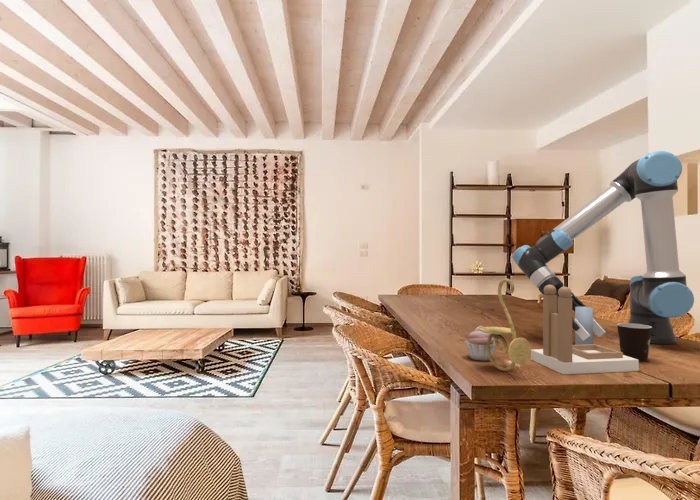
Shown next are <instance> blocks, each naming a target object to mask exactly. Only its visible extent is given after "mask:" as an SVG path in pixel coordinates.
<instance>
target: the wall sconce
mask: <svg viewBox="0 0 700 500" xmlns="http://www.w3.org/2000/svg"><path fill="white" fill-rule="evenodd" d="M504 283H508V284H509V285H510V288H508V287H507V288H506V292H507V293H508V294H510V295H512V294H513V293H514V292H515V284H514V282H513V280H511V279H510V278H503V279H502V280H500V281H499V283H498V286H497V296H498V300H499V302H500V305H501V307H502V309H503V311H504V314H505V316H506V319H507V321H508V324H509V327H503V326H483V327H482V328H479V330H480V331H482V332H484V333H488V334H490V336H489V337H488V340H487V354H488V357H489V359H490V360H489V361H490V363H491V364H492V365H493V366H494V367H495V368H496V369H498V370H500V371H501V372H502V371H503V372H508V371H511V370H512V369H513V368H514V367H515V365H516V364H517V365H522V364H524V363H526V362H528V360H529V359H530V358H531V350H532V347H531V344H530V341H528V340H527V339H526V338H525V337H517V332H516V330H515V325H514V323H513V320H512V317H511V315H510V313H509V310H508V307H507V305H506V303H505V301H504V298H503V295H502V294H503V293H502V288H503V285H504ZM505 335H511V336H512V337H511V338H512V341H511V342H510V343H509V345H508V342H507V340H506V338H504V336H505ZM492 337H493V338H494V340H495V341H494V343H496V344H495V346H496V347H498V348H499V345H500V342H499V340H501V342H502V344H503V349H501V348H500V349H498V350H497V351H498V352H499V353H500V354H503V355H504V354H506V353H507V352H508V357H509V359H510V360H511V363H510V364H509V365H508V366H506V367H503V366H500V365H499V364H498V363H497V362H496V361H495V360H494V358H493V356H492V355H491V351H490V343H491V339H492Z"/></svg>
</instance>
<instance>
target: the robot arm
mask: <svg viewBox="0 0 700 500" xmlns="http://www.w3.org/2000/svg"><path fill="white" fill-rule="evenodd" d="M682 172H683V165H682V162H681V160H680V158H678V156H677V155H676V154H673V153H672V152H669V151H666V150H657V151H653V152H650V153H646V154H644V155H642V156H641V158H639V159H636V160H635V161H633V162H632V163H631V164H629V166H627V167H626V168H625V169H624V170H623V171H622V172H621V173H619V175H618V176H617V177H616V178H614V179H613V180H611V181H610V183H609V187H607V188H606V189H604V190H603V191H602V192H601V193H599V194H597V195H596V196H595V197H594V198H592V199H591V200H589V202H588V203H586V204H584V205H583V206H582V207H581V208H579V209H578V210H577V211H575V212H574V213H572V214H571V215H570V216H569V217H567V218H566V219H565V220H563V221H562V222H560V223H559V224H558V225H556V226H555V227H554V228H553V229H552V230H550V231H548V233H546V234H545V235H543V236H541V237H540V238H538V240H537V241H536V244H535V245H533V246H530V245H528V244H524V245H522V246H519V247H518V248H517V249H515V251H514V252H513V254H512V257H511V258H512V259H513V261H514V263H515V264H516V265H517V267H518V268H519V269H520V270H521V271H522V272H523V274H524V275H525V276H526V277H527V278H528V279H529V280H530V282H531V283H532V285H533V286H535V288H536V289H538V291H539V293H541V295H542V296H543V294H545V293H544V287H545V286H546V285H553V286H554V287H555V288H556V293H555V294H554V295H557V314H558V297H560V296H559V294H558V290H559V289H560V288H561V287H564V283H563V282H562V281H561V280H560V278H559V277H558V276H556V273H554V271H553V270H552V269H551V268H550V267H549V266H548V265H547V263H549V262H551V261H552V260H554V259H555V258H557V257H559V256H560V255H561V254H563V253H564V252H565V251H568V249H569V248H571V247H572V246H573V244H574V241H573V240H575V239H576V238H578V237H579V236H580V235H581V234H583V233H584V232H586V231H587V230H589V229H590V228H591V227H592V226H594V225H595V224H597V223H598V222H599V221H601V220H603V218H604V217H607V216H608V215H609V214H610V213H612V212H613V211H614V210H616V209H617V208H618V207H620V206H621V205H622V204H624V203H625V202H626V203H627V202H628V203H630V202H632V200H634V199H635V198H636V199H638V200H639V201H640V205H641V208H640V209H641V216H642V217H641V218H642V228H643V239H644V252H645V263H646V264H645V265H646V271H645V273H644V274H643V275H633V276H632V277H630V283H629V308H630V309H629V314H630V315H629V320H628V322H627V323H632V324H642V325H648V326H651V327H652V330H651V338H650V344H655V345H656V344H658V345H661V344H662V345H670V344H676V342H677V336H676V334H675V333H674V328H673V326H672V323H671V321H670V320H671V319H675V318H680V317H682V316H685V315H686V314H688V312H690V311H691V309H693V306H694V304H695V296H694V293H693V291H692V290H691V289H690V287H689V286H688V284H687V277H686V274H685V273H683V272H682V271H681V270H680V263H679V254H678V251H679V250H678V242H677V233H676V221H675V219H676V218H675V209H674V207H675V206H674V199H673V197H674V196H675V195H676V194H677V193H678V192H679V188H678V180H679V179H680V177H681V174H682ZM570 297H572V312H574V313H575V307H587V306H586V305H585V303H583V301H581V300H580V299H579V298H578V297H576V295H575V293H573V292H572V294H571V296H570ZM572 331H574V332H576V333H577V334H578V336H579V337H580V338H581V339H582V340H583V341H584V340H586V339H587V338H588V337H589V336H591V335H590V334H589V333H588V332H587V331H586V330H585V329H584V327H583V326H582V325H581V324H580V323H579V322H578V321H577V320H576V319H575V318H574V317H573V316H572ZM606 333H607V332H606V331H605V329H604V328H603V327H602V326H601V325H600V324H599V322H597V321H596V320H595V318H593V334H595V336H597V338H601V337H602V336H604V335H605V334H606Z"/></svg>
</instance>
